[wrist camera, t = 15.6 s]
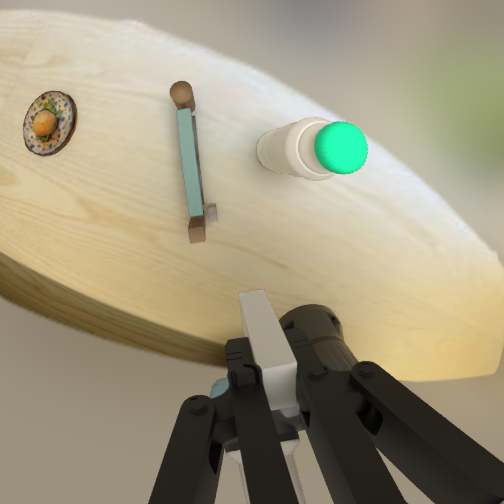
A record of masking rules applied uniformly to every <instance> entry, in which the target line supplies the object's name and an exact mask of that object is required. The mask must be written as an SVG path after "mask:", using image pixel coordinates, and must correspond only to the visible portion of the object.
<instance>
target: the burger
mask: <svg viewBox="0 0 504 504" xmlns="http://www.w3.org/2000/svg"><path fill="white" fill-rule="evenodd" d="M76 123H77V108H76V105H75V102H74V100H73V99H72V98H71V97H70V95H66V94H64V93H62V92H60V91H49V92H46V93H44V94H42V95H41V96H39V97H38V98H37V99H36V100H35V101H34V102H33V103H32V105H31V106H30V108H29V110H28V112H27V114H26V117H25V120H24V124H23V130H24V140H25V145H26V147H27V148H28V150H29V151H31V152H34V154H38V155H40V156H49V155H53V154H55V153H57V152H58V151H60V149H61V148H62V147H64V146H65V145H67V143H68V142H69V141H70V138H71V135H72V134H73V133H74V131H75V128H76Z"/></svg>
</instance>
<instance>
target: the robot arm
mask: <svg viewBox="0 0 504 504" xmlns="http://www.w3.org/2000/svg"><path fill="white" fill-rule="evenodd" d="M239 301H240V309H241V317H242V325H243V332H244V336H245V337H244V338H237V339H230V340H228V341H227V343H226V345H225V352H226V359H227V366H228V375H227V376H228V377H227V378H223V379H219V380H217V381H216V382H215V383H214V384H213V387H212V389H211V394H210V397H208V396H205V395H195V396H192V397H189V398H188V399H186V400H185V401H184V402H183V404H182V406H181V408H180V411H179V414H178V417H177V420H176V423H175V426H174V429H173V432H172V434H171V437H170V441H169V443H168V446H167V449H166V452H165V455H164V458H163V461H162V464H161V467H160V470H159V473H158V476H157V479H156V482H155V485H154V488H153V491H152V494H151V497H150V500H149V503H148V504H214V503H215V498H216V492H217V487H218V481H219V476H220V471H221V465H222V460H223V454H224V449H225V451H226V456H228V457H229V458H231V459H232V460H234V461H235V462H236V463H237V464H238V467H239V471H240V476H241V481H242V485H243V490H244V494H245V498H246V503H247V504H306V502H305V498H304V494H303V490H302V486H301V482H300V478H299V475H298V471H297V467H296V463H295V459H294V456H293V453H294V450H295V448H296V447H297V445H298V444H299V442H300V439H299V435H298V431H301V430H306V433H307V435H308V438H309V441H310V443H311V446H312V448H313V451H314V454H315V456H316V459H317V461H318V464H319V467H320V469H321V472H322V474H323V477H324V479H325V482H326V485H327V487H328V490H329V492H330V495H331V497H332V500H333V502H334V504H408V503H407V502H406V501H405V500H404V498H403V496H402V494H401V492H400V491H399V489H398V487H397V485H396V483H395V482H394V480H393V478H392V476H391V474H390V472H389V471H388V469H387V467H386V465H385V463H384V462H383V460H382V458H381V456H380V455H379V453H378V451H377V449H379V451H380V452H381V453H382V454H383V455H384V456H386V457H387V459H389V461H391V462H392V463H393V464H394V465H395V466H396V467H397V468H398V469H399V470H400V471H401V472H402V473H403V474H404V475H405V476H406V477H407V478H408V479H409V480H410V481H411V482H412V483H413V484H414V485H415V486H416V487H417V488H419V489H420V490H421V491H422V492H423V493H424V494H425V495H426V496H427V497H428V498H429V499H430V500H431V501H433V502H434V503H435V504H504V463H503V462H502V461H500V460H499V459H498V458H496V457H495V456H494V455H492V454H491V453H490V452H489V451H487V450H486V449H485V448H483V447H482V446H481V445H479V444H478V443H477V442H476V441H474V440H473V439H472V438H470V437H469V436H468V435H466V434H465V433H464V432H463V431H461V430H460V429H459V428H457V427H456V426H455V425H454V424H452V423H451V422H449V421H448V420H447V419H446V418H445V417H443V416H442V415H441V414H439V413H438V412H437V411H436V410H434V409H433V408H432V407H431V406H429V405H428V404H427V403H425V402H424V401H423V400H421V399H420V398H419V397H418V396H417V395H415V394H414V393H412V392H411V391H410V390H409V389H408V388H406V387H405V386H404V385H403V384H401V383H400V382H399V381H398V380H396V379H395V378H394V377H392V376H391V375H390V374H389V373H387V372H386V371H385V370H384V369H382V368H381V367H380V366H379V365H377V364H375V363H374V362H370V361H361V362H359V361H358V360H357V359H356V357H355V356H354V355H353V353H352V352H351V350H350V349H349V348H348V346H347V345H346V344H345V342H344V337H343V331H342V326H341V323H340V321H339V319H338V318H337V317H336V315H335V314H334V313H333V312H332V311H331V310H330V309H328V308H327V307H324V306H321V305H305V306H301V307H298V308H296V309H294V310H292V311H290V312H289V313H287V314H286V315H285V316H283V317H282V318H281V319H280V320H279V321H278V319H277V317H276V314H275V312H274V310H273V308H272V305H271V303H270V301H269V299H268V296H267V294H266V292H265V290H264V289H261V290H254V291H248V292H241V293H239ZM374 445H375V446H374ZM376 448H377V449H376Z"/></svg>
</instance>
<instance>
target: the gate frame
mask: <svg viewBox="0 0 504 504" xmlns="http://www.w3.org/2000/svg"><path fill="white" fill-rule="evenodd" d="M170 96H171V98H172V99H173V101H174V103H175V105H176V106H177V108H178V110H181V109H188V108H190V109H191V113H192V112H193V111H194V109H195V101H194V96H193V91H192V87H191V85H190V84H189V83H188V82H186V81H178V82H176V83H174V84H173V85H172V86H171V88H170ZM192 125H193V134H194V143H195V151H196V160H197V168H198V176H199V184H200V191H201V199H202V205H203V204H204V198H203V190H202V181H201V172H200V163H199V154H198V144H197V133H196V123H195V116H192ZM208 214H209V222H213V221H218V217H217V208H216V203H215V204H208ZM188 232H189V239H190V243H197V242H205V216H204V211H203V215H199V216H192V217H191V218H190V222H189V226H188Z"/></svg>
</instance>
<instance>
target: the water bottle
mask: <svg viewBox="0 0 504 504" xmlns="http://www.w3.org/2000/svg"><path fill="white" fill-rule="evenodd" d="M367 146H368V145H367V141H366V139H365V136H364V135H363V132H361V130H360V129H358V128H357V127H356V126H354V125H353V124H350V123H348V122H339V121H338V122H333V123H332V122H330V121H328V120H326V119H323V118H319V117H309V118H305V119H302V120H300V121H298V122H294V123H291V124H288V125H286V126H284V127H281V128H278V129H275V130H272V131H269V132H267V133H266V134H264V135H263V136H262V137H261V139H260V140H259V142H258V145H257V156H258V159H259V161H260V162H261V164H262V165H263V166H264V167H265V168H267V169H268V170H271V171H274V172H279V173H284V174H289V175H292V176H297V177H303V178H305V179H309V180H315V181H319V180H325V179H328V178H330V177H332V176H334V175H335V174H350V173H354V172H355V171H357V170H358V169H360V168H361V166H363V165H364V162H366V158H367V154H368V152H367V151H368V148H367Z"/></svg>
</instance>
